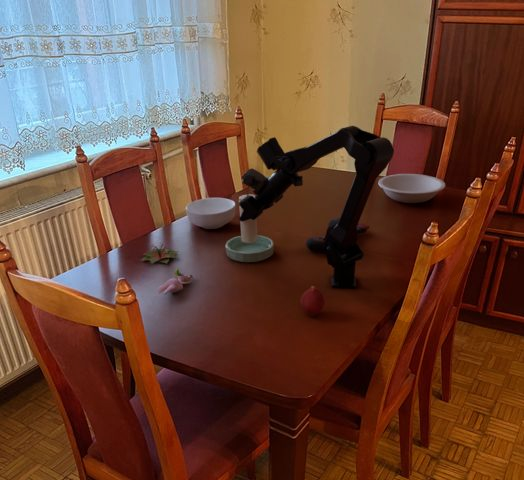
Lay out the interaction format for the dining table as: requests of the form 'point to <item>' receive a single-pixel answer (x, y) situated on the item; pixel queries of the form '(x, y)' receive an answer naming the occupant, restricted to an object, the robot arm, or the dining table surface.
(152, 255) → the lily flower
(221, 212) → the cereal bowl
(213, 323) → the dining table surface
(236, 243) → the candle dish
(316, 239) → the toy motorcycle
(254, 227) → the candle
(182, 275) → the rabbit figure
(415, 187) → the soup bowl
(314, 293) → the onion
